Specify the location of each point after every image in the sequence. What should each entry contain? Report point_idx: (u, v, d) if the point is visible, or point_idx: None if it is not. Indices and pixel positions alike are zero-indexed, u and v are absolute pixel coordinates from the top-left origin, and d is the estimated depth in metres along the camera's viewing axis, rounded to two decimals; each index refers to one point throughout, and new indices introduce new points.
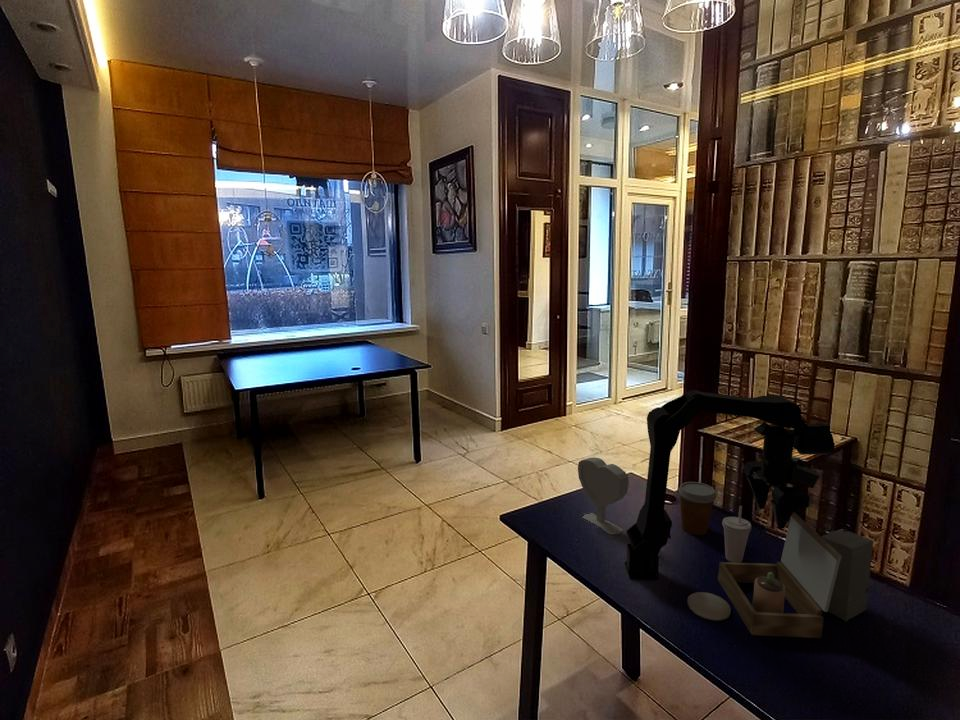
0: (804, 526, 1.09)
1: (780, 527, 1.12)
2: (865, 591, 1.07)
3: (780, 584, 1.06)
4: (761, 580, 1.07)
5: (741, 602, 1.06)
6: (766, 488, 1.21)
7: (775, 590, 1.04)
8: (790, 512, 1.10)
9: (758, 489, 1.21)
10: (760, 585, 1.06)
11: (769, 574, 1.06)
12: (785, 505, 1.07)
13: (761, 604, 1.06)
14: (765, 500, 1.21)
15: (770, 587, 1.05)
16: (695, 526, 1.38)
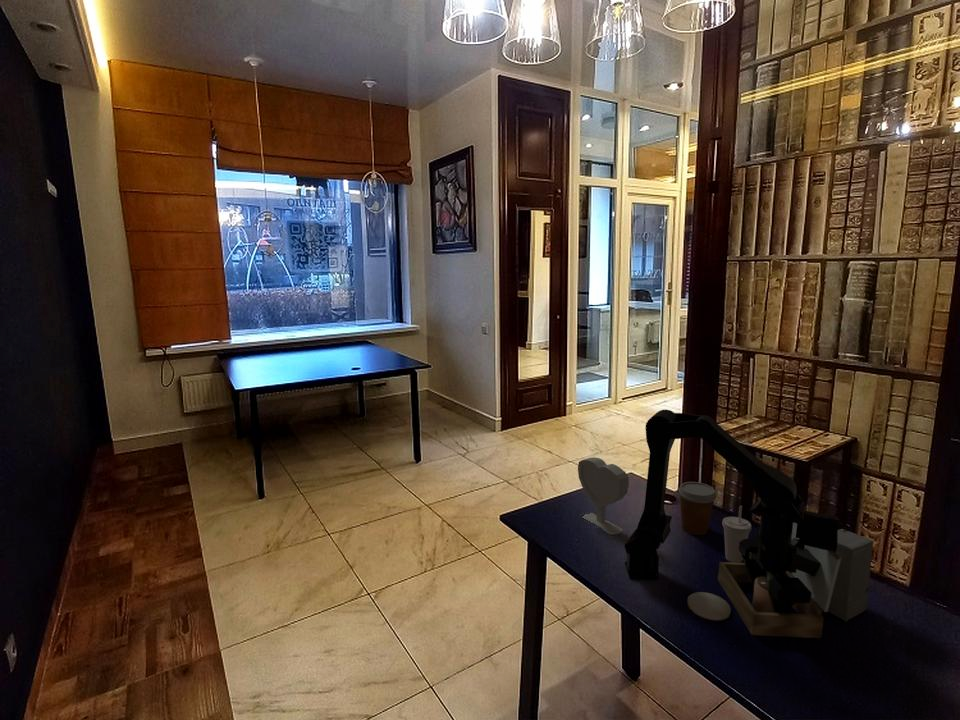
0: None
1: None
2: (865, 591, 1.07)
3: None
4: (761, 580, 1.07)
5: (741, 602, 1.06)
6: (763, 570, 1.11)
7: None
8: (789, 605, 1.01)
9: (754, 571, 1.11)
10: (760, 585, 1.06)
11: (769, 574, 1.06)
12: (784, 600, 0.97)
13: (762, 604, 1.06)
14: None
15: None
16: (695, 526, 1.38)
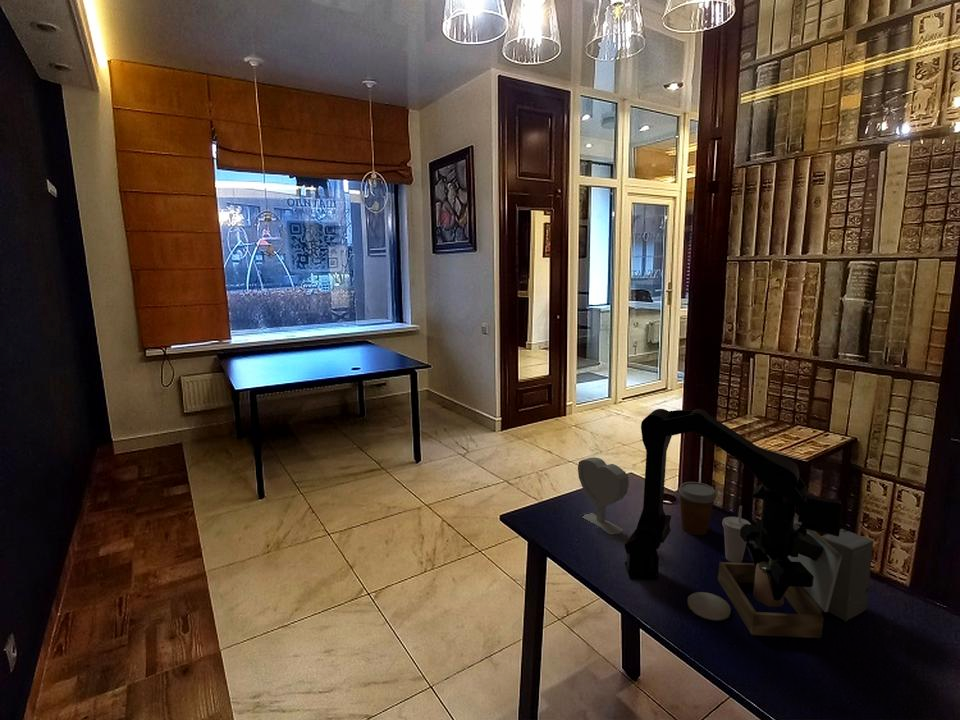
0: None
1: (776, 599, 1.04)
2: (865, 591, 1.07)
3: None
4: (762, 565, 1.07)
5: (741, 602, 1.06)
6: (768, 560, 1.09)
7: None
8: None
9: (759, 561, 1.09)
10: (762, 570, 1.05)
11: None
12: (786, 584, 0.96)
13: (763, 589, 1.05)
14: None
15: None
16: (695, 526, 1.38)
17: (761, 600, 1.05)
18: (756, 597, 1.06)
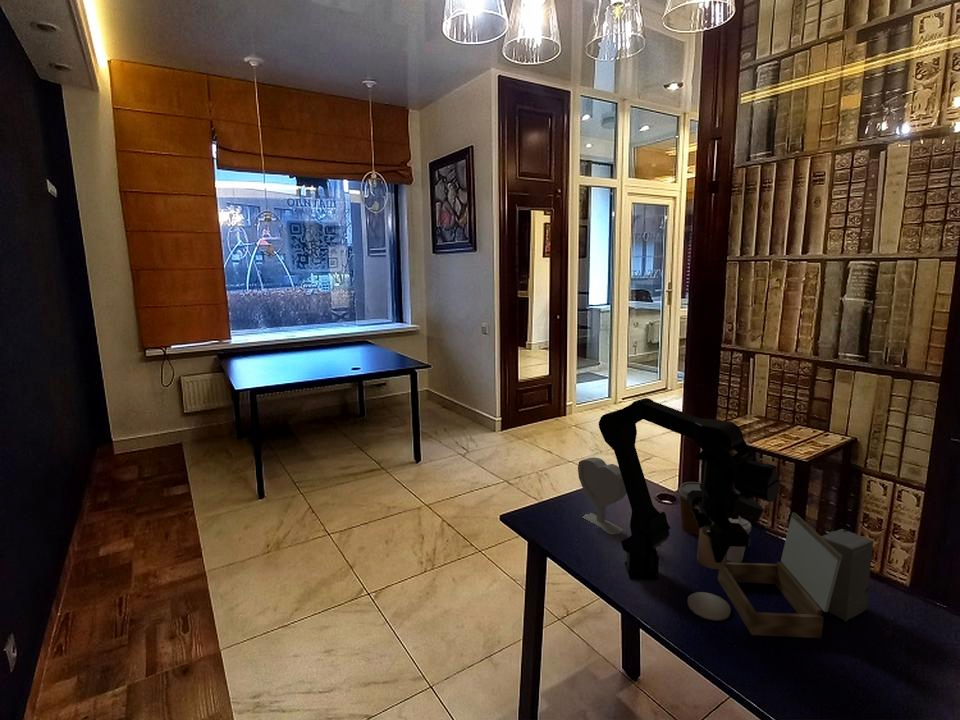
0: (805, 526, 1.09)
1: (717, 561, 1.04)
2: (865, 591, 1.07)
3: None
4: (706, 528, 1.07)
5: (741, 602, 1.06)
6: None
7: None
8: (727, 546, 1.02)
9: (703, 525, 1.10)
10: (704, 533, 1.06)
11: None
12: (723, 544, 0.97)
13: (705, 551, 1.06)
14: None
15: None
16: (695, 526, 1.38)
17: (703, 563, 1.06)
18: (699, 560, 1.07)
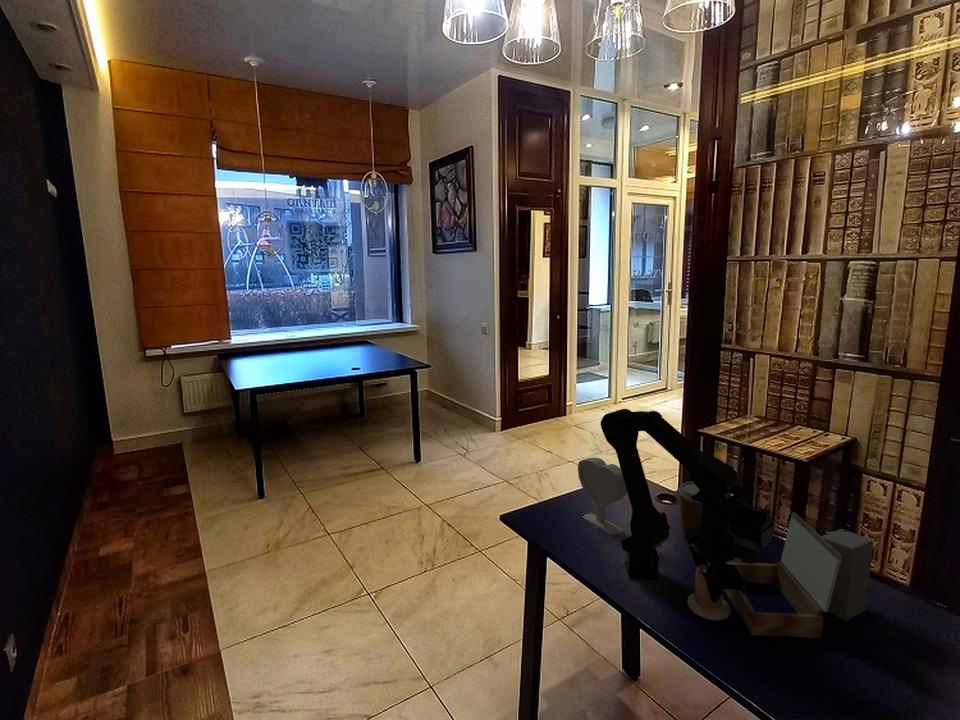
0: (805, 526, 1.09)
1: (713, 601, 1.06)
2: (865, 591, 1.07)
3: None
4: (702, 568, 1.09)
5: (741, 602, 1.06)
6: None
7: None
8: None
9: (700, 564, 1.12)
10: (700, 573, 1.08)
11: None
12: (718, 587, 0.99)
13: (701, 591, 1.07)
14: None
15: None
16: (695, 526, 1.38)
17: (700, 602, 1.08)
18: (696, 599, 1.09)
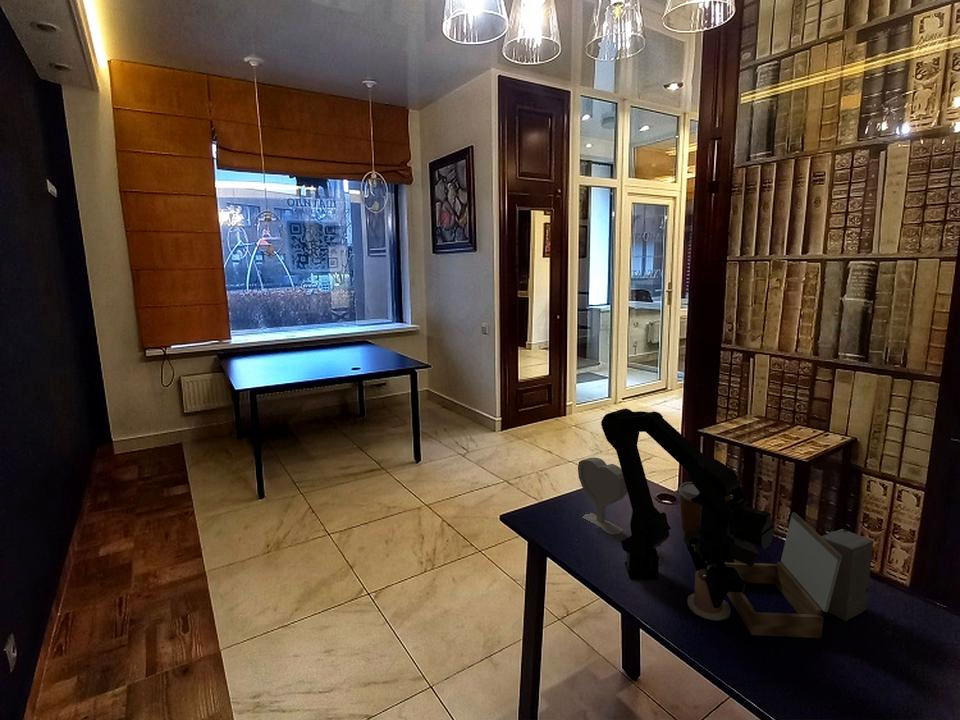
0: (805, 526, 1.09)
1: (715, 606, 1.05)
2: (865, 591, 1.07)
3: None
4: (701, 572, 1.09)
5: (741, 602, 1.06)
6: (707, 562, 1.12)
7: None
8: (725, 592, 1.03)
9: (698, 563, 1.13)
10: (700, 577, 1.08)
11: (708, 566, 1.08)
12: (718, 589, 0.99)
13: (701, 596, 1.07)
14: None
15: None
16: (695, 526, 1.38)
17: (700, 607, 1.08)
18: (695, 604, 1.09)
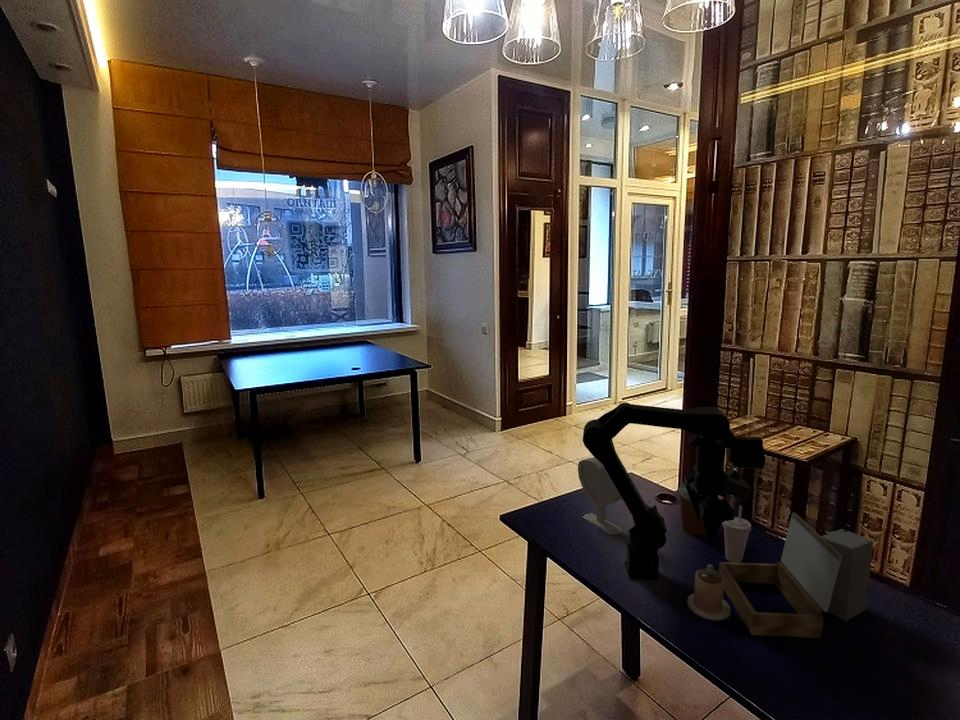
0: (805, 526, 1.09)
1: (709, 539, 1.12)
2: (865, 591, 1.07)
3: (719, 576, 1.08)
4: (701, 572, 1.09)
5: (741, 602, 1.06)
6: None
7: (713, 582, 1.06)
8: (718, 524, 1.10)
9: (695, 500, 1.21)
10: (700, 577, 1.08)
11: (708, 566, 1.08)
12: (709, 517, 1.07)
13: (701, 596, 1.07)
14: None
15: (709, 579, 1.07)
16: (695, 526, 1.38)
17: (700, 607, 1.08)
18: (695, 604, 1.09)
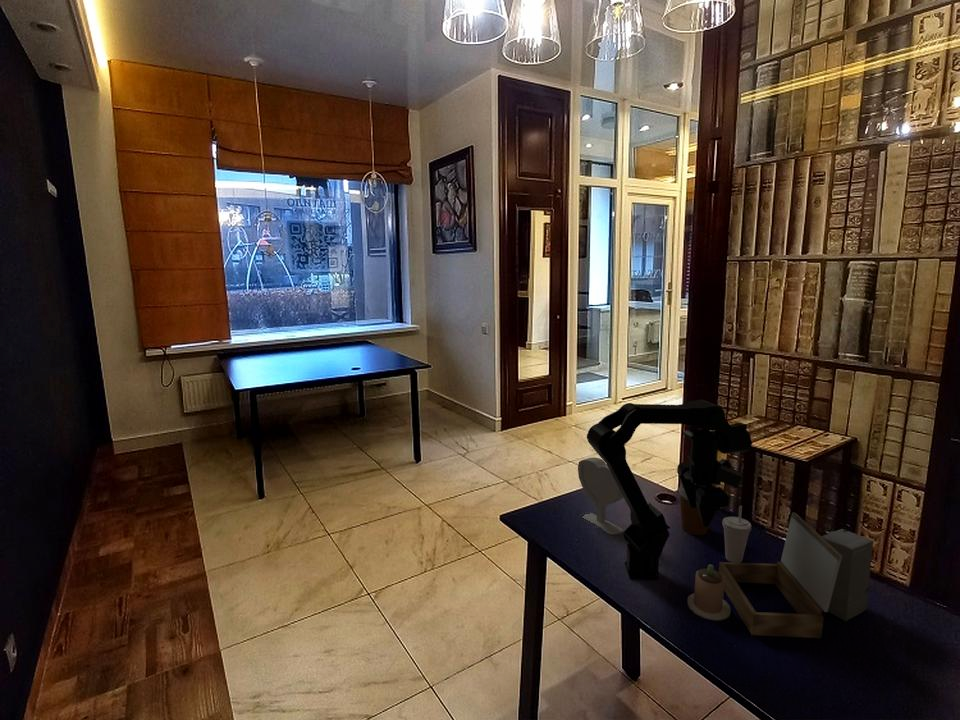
0: (805, 526, 1.09)
1: (705, 525, 1.18)
2: (865, 591, 1.07)
3: (720, 576, 1.08)
4: (702, 572, 1.09)
5: (741, 602, 1.06)
6: (697, 488, 1.27)
7: (714, 582, 1.06)
8: (713, 511, 1.16)
9: (689, 489, 1.27)
10: (700, 577, 1.08)
11: (709, 566, 1.08)
12: (706, 504, 1.12)
13: (701, 595, 1.07)
14: (696, 499, 1.27)
15: (709, 579, 1.07)
16: (695, 526, 1.38)
17: (700, 606, 1.08)
18: (695, 603, 1.09)
